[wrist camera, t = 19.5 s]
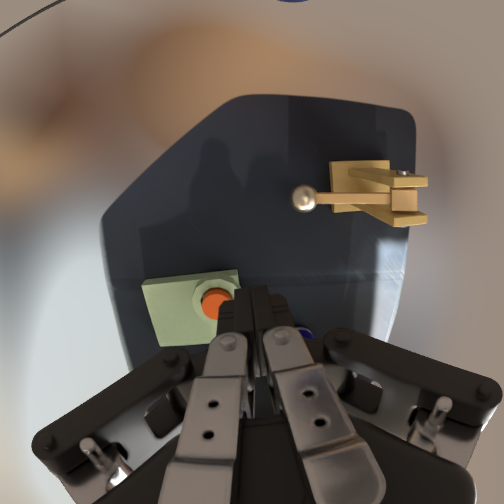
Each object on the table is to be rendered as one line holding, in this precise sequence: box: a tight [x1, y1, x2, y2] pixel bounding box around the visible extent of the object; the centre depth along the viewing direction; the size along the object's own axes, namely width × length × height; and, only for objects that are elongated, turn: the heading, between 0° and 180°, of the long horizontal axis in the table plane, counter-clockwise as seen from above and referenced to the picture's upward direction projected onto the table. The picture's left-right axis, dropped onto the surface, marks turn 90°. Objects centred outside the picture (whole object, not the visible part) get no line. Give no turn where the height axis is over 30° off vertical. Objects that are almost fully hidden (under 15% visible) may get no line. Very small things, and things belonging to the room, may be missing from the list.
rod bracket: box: [329, 160, 428, 227], centre depth 32 cm, size 9×7×14 cm
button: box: [202, 288, 232, 320], centre depth 38 cm, size 4×4×2 cm
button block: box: [142, 269, 241, 346], centre depth 42 cm, size 14×12×4 cm
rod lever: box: [290, 184, 417, 213], centre depth 29 cm, size 14×3×3 cm, turn 96°
